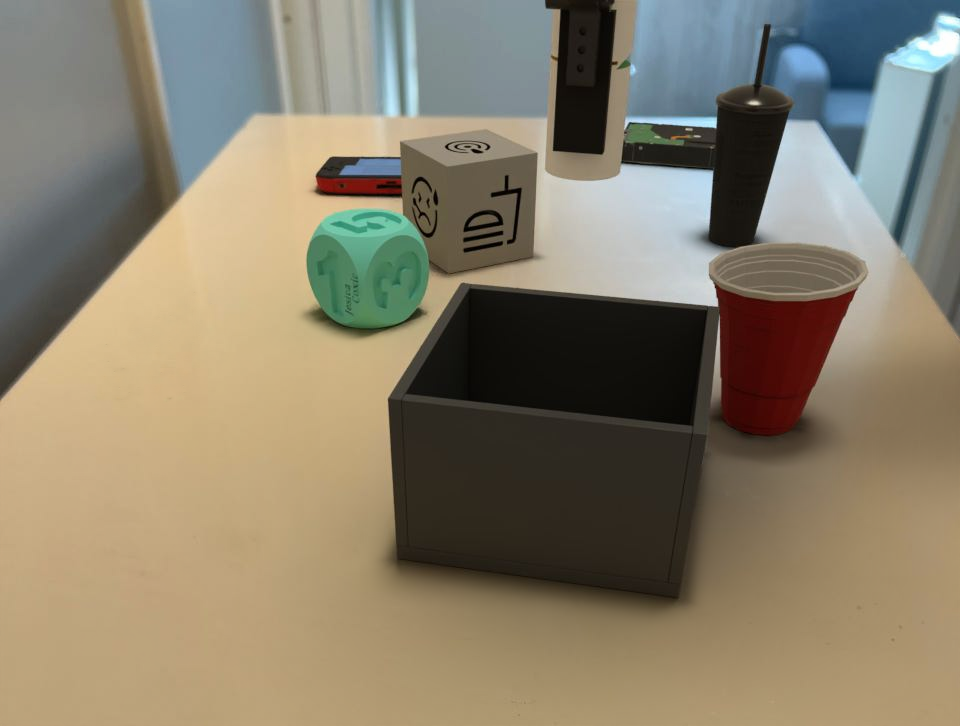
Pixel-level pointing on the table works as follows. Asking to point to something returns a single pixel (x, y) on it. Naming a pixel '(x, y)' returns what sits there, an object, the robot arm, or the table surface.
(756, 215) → the drinking cup
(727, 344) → the plastic cup
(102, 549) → the table surface
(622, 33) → the tube
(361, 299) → the decorative dice
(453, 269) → the icon cube
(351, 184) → the game console
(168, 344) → the table surface
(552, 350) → the bin
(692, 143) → the disk drive
